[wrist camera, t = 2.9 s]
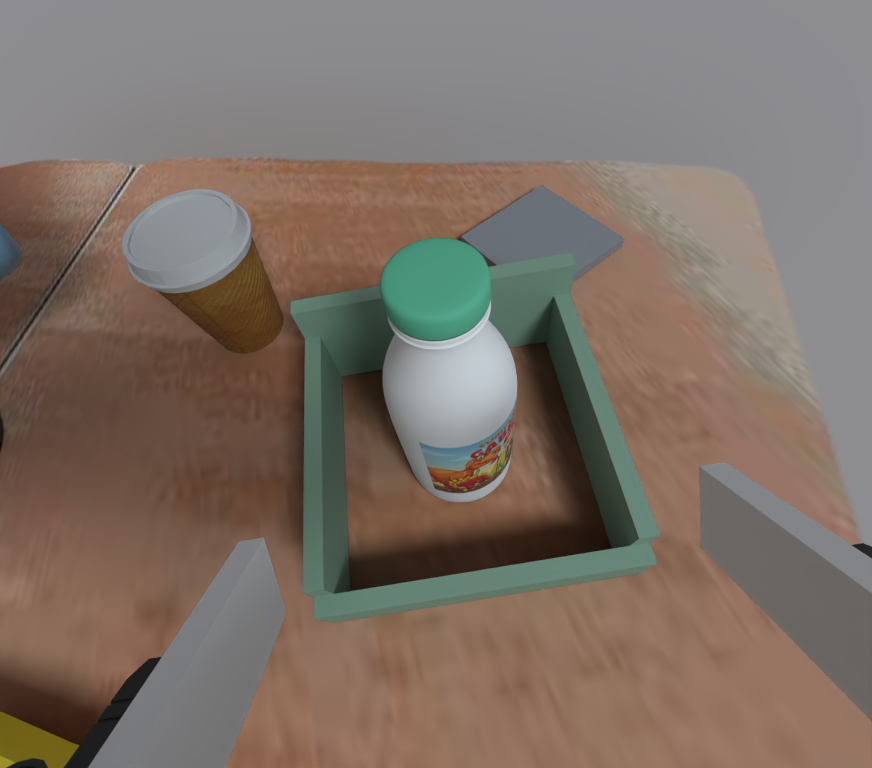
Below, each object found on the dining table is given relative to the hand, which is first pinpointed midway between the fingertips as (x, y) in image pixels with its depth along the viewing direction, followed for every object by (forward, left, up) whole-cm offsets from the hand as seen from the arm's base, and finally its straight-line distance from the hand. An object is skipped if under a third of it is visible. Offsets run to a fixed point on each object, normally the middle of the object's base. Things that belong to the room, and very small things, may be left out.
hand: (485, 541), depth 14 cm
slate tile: (-21, +25, -19) cm, 38 cm away
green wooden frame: (-9, +5, -19) cm, 22 cm away
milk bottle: (-9, +5, -20) cm, 22 cm away
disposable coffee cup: (-32, -2, -20) cm, 38 cm away
